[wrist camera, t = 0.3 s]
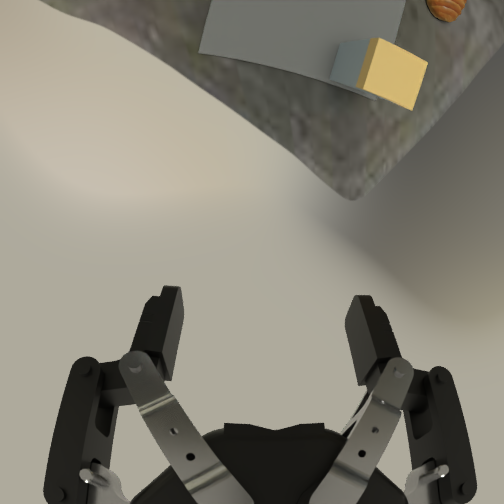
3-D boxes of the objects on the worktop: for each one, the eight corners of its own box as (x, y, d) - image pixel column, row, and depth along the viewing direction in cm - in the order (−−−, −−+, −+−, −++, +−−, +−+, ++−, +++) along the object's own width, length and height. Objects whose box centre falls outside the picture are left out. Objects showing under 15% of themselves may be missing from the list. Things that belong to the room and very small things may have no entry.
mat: (234, -68, 18) (234, -69, 18) (407, -13, 21) (409, -14, 21) (198, 53, 29) (198, 52, 28) (374, 100, 32) (375, 101, 31)
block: (340, 43, 27) (379, 37, 17) (377, 58, 28) (427, 62, 18) (329, 79, 30) (362, 88, 20) (366, 93, 31) (411, 110, 21)
